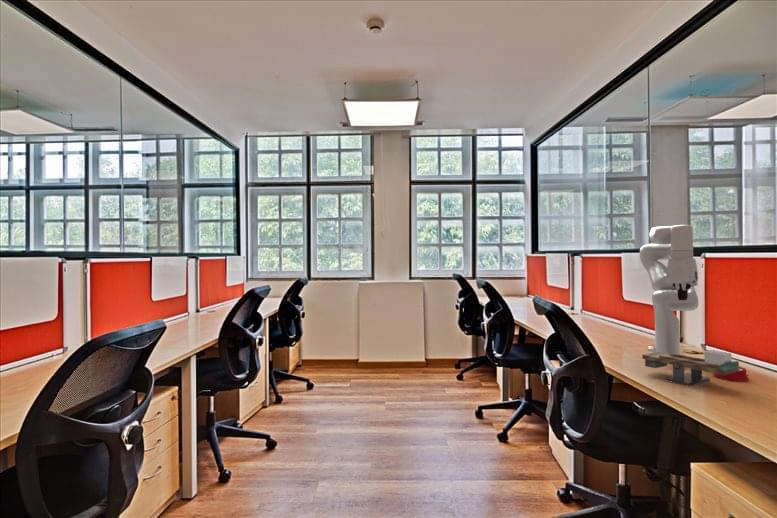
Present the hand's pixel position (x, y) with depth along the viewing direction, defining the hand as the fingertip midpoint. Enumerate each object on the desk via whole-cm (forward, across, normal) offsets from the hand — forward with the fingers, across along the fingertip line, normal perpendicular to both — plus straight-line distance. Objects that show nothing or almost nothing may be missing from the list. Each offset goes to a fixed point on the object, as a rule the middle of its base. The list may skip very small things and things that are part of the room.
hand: (682, 299), depth 172 cm
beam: (+26, +8, -13) cm, 30 cm away
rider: (+22, +18, -13) cm, 31 cm away
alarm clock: (+30, +13, +6) cm, 33 cm away
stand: (+29, +8, -13) cm, 33 cm away
